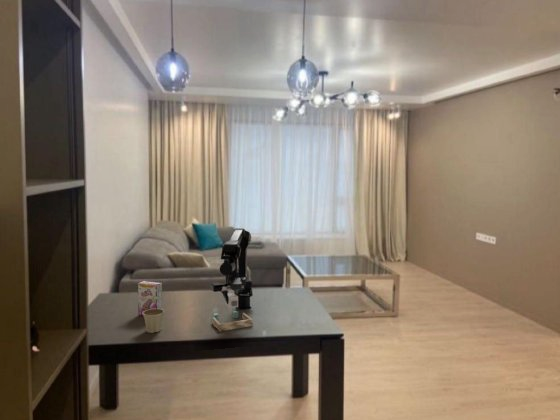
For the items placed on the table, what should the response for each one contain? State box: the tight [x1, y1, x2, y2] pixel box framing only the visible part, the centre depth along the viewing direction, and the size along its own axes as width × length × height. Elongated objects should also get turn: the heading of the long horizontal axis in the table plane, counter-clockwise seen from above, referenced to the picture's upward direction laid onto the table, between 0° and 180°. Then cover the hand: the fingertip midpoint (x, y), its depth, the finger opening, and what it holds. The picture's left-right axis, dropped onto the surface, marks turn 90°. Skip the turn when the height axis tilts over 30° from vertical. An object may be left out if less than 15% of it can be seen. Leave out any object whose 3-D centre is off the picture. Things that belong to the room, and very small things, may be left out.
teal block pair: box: [212, 310, 239, 320], centre depth 208 cm, size 12×2×3 cm, turn 116°
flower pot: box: [142, 308, 165, 334], centre depth 192 cm, size 9×9×9 cm
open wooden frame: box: [211, 312, 253, 332], centre depth 200 cm, size 16×10×3 cm, turn 116°
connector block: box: [225, 292, 238, 309], centre depth 199 cm, size 4×7×5 cm, turn 26°
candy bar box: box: [137, 280, 163, 317], centre depth 213 cm, size 11×5×16 cm, turn 71°
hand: (231, 303), depth 199 cm, fingers closed on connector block, 4 cm apart
